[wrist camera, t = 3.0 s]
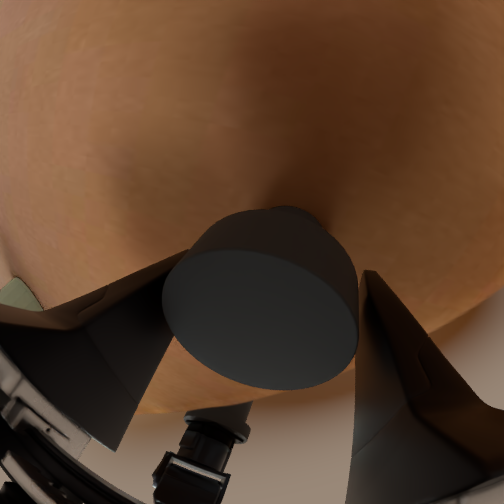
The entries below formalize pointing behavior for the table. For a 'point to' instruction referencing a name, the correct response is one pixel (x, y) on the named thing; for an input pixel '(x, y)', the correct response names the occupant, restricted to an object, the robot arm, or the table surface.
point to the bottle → (19, 296)
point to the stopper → (266, 300)
